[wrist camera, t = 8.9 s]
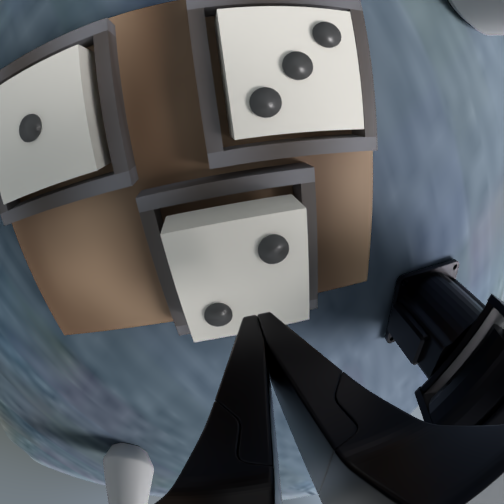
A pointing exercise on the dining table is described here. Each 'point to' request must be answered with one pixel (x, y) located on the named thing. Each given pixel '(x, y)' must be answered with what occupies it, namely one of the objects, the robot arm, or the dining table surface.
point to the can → (482, 14)
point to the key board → (183, 170)
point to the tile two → (239, 263)
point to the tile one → (51, 124)
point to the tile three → (288, 70)
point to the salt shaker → (127, 474)
